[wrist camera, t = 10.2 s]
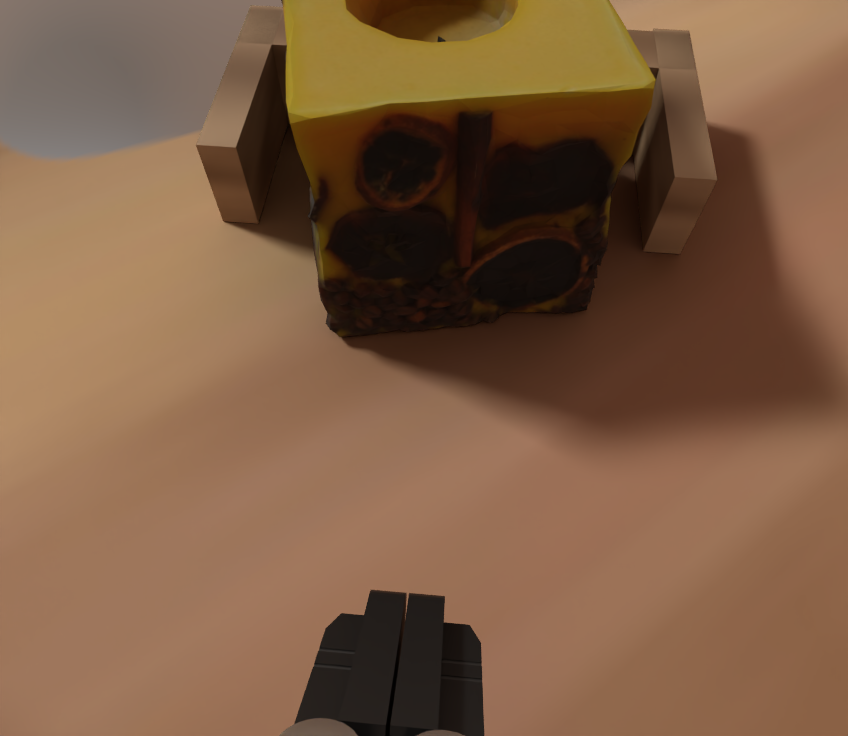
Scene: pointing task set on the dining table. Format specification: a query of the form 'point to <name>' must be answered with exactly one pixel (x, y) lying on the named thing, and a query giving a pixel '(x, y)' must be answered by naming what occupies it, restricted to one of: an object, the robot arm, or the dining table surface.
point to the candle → (459, 153)
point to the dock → (268, 118)
